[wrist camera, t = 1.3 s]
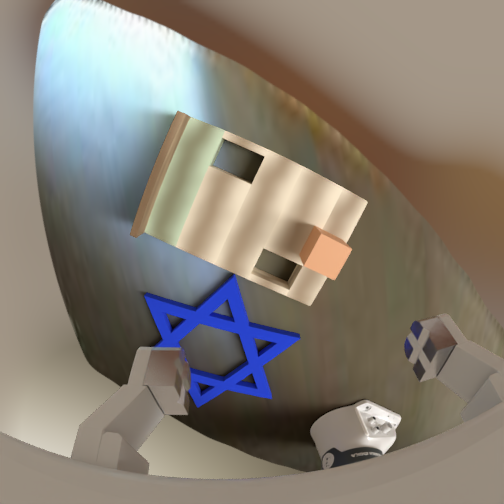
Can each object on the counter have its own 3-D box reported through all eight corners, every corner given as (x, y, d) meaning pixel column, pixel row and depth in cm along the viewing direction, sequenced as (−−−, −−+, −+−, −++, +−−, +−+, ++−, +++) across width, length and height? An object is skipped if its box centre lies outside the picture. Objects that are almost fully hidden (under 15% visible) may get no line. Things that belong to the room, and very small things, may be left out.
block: (342, 239, 38) (352, 249, 34) (327, 267, 40) (334, 280, 35) (314, 225, 38) (321, 233, 34) (299, 254, 39) (303, 266, 35)
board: (360, 198, 40) (376, 205, 34) (307, 296, 44) (313, 316, 39) (189, 117, 37) (177, 110, 31) (145, 224, 42) (129, 234, 36)
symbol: (317, 298, 43) (260, 421, 52) (315, 293, 45) (260, 415, 54) (150, 252, 42) (136, 388, 50) (154, 249, 43) (138, 383, 52)
